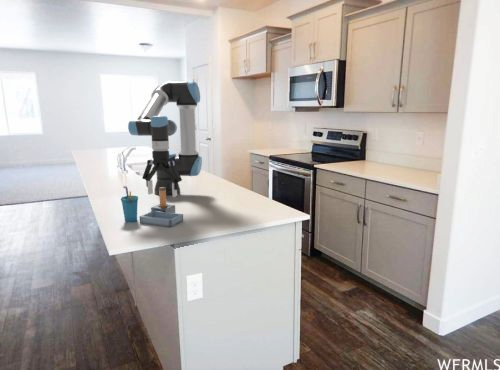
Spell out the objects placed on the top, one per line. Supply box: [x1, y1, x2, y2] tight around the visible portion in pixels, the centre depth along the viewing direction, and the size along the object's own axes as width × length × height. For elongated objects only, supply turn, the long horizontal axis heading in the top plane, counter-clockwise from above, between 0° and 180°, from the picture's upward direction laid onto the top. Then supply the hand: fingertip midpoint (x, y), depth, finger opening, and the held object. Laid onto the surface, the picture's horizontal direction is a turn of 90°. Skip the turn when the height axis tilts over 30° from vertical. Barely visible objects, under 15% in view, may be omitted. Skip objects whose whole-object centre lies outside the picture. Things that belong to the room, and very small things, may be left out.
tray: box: [138, 210, 184, 228], centre depth 160 cm, size 16×10×3 cm, turn 68°
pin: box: [159, 187, 167, 208], centre depth 171 cm, size 3×3×13 cm
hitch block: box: [150, 203, 176, 213], centre depth 172 cm, size 8×8×4 cm
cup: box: [120, 185, 139, 223], centre depth 162 cm, size 14×8×15 cm, turn 34°
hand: (162, 195), depth 170 cm, fingers open, 13 cm apart
